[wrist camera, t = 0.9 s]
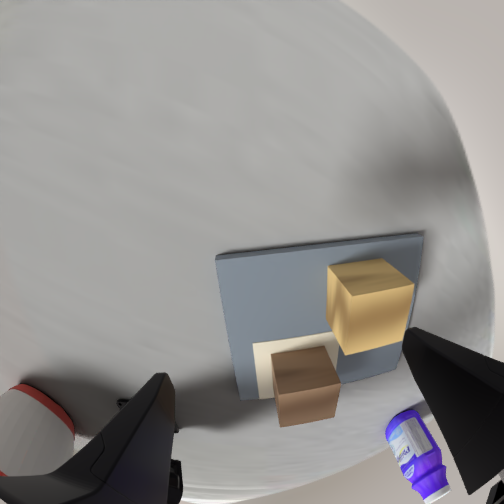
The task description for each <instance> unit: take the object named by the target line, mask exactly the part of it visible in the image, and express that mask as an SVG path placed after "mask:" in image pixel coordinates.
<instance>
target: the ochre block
mask: <svg viewBox="0 0 504 504" xmlns="http://www.w3.org/2000/svg"><path fill="white" fill-rule="evenodd" d="M413 290H414V283H413V282H412V281H410V280H409V279H408V278H407V277H405V276H404V275H403V274H402V273H400V272H399V271H398V270H397V269H395V268H394V267H393V266H392V265H390V264H389V263H388V262H386V261H385V260H384V259H383V258H380V259H373V260H366V261H359V262H352V263H344V264H337V265H329V266H328V271H327V303H326V320H327V322H328V324H329V326H330V328H331V329H332V331H333V333H334V335H335V337H336V339H337V341H338V343H339V345H340V346H341V348H342V350H343V352H344V354H345V355H349V354H354V353H358V352H362V351H366V350H370V349H374V348H378V347H381V346H385V345H389V344H392V343H396V342H399V341H402V340H403V336H404V332H405V328H406V324H407V319H408V315H409V310H410V306H411V301H412V296H413Z"/></svg>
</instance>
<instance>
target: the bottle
mask: <svg viewBox="0 0 504 504" xmlns="http://www.w3.org/2000/svg"><path fill="white" fill-rule="evenodd" d="M385 434H386V439H387V441H388V443H389V445H390V447H391V449H392V451H393V453H394V455H395V457H396V459H397V462H398V464H399V466H400V468H401V470H402V472H403V475H404V476H405V478H406V479H407V480H409V481H410V482H411V483H412V489H414V490H416V491H418V492H419V493H420V494H421V496H422V497H423V500H424V502H425V504H431V503H433V502H435V501H436V500H438V499H439V498H441V497H443V496H444V495H446V494H447V493H448V492H450V491H451V488H450V486H449V484H448V482H447V479H446V466H444V465H442V455H441V450H440V448H439V447H438V445H437V443H436V442H435V440H434V438H433V437H432V435H431V434H430V432H429V430H428V428H427V427H426V425H425V423H424V421H423V420H422V418H421V417H420V415H419V413H418V412H417V411H415V410H408V411H405V412H403V413H400V414H399V415H397V416H396V417H394V418H393V419H392V420H391V422H390V423H389V425H388V426H387V428H386V433H385Z"/></svg>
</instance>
